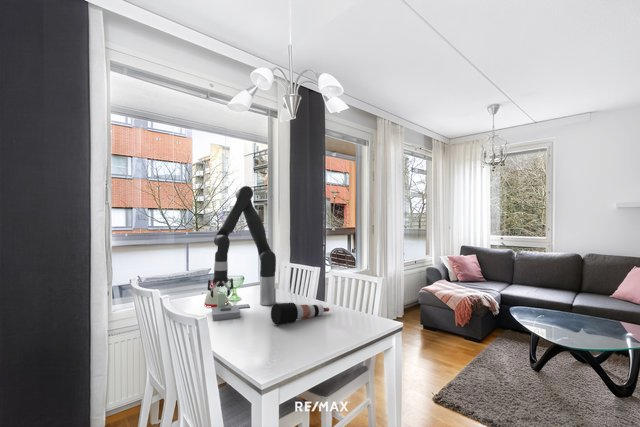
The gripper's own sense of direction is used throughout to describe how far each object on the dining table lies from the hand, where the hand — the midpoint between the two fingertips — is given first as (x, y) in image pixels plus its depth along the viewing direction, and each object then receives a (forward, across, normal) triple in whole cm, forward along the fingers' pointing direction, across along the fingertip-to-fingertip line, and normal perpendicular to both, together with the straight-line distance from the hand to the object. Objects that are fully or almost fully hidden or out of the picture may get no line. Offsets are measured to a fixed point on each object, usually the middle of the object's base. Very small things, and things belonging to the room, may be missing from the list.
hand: (220, 296), depth 183 cm
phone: (+8, -11, -2) cm, 13 cm away
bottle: (+7, -41, +32) cm, 53 cm away
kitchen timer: (+8, +2, -14) cm, 16 cm away
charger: (+8, -1, 0) cm, 8 cm away
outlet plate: (+7, -3, +11) cm, 14 cm away
